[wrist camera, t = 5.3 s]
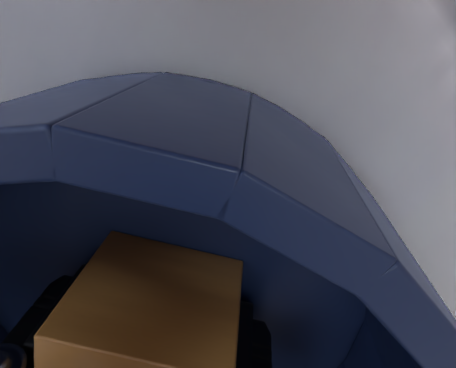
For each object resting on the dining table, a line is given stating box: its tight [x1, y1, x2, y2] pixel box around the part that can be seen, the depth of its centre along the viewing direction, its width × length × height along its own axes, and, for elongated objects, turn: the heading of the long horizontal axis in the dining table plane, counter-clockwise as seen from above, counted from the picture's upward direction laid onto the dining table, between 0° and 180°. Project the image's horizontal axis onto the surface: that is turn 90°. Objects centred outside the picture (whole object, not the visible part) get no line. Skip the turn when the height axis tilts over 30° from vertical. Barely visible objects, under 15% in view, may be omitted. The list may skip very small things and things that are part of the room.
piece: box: [34, 231, 243, 368], centre depth 11 cm, size 5×5×5 cm
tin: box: [0, 72, 456, 368], centre depth 11 cm, size 16×16×6 cm
